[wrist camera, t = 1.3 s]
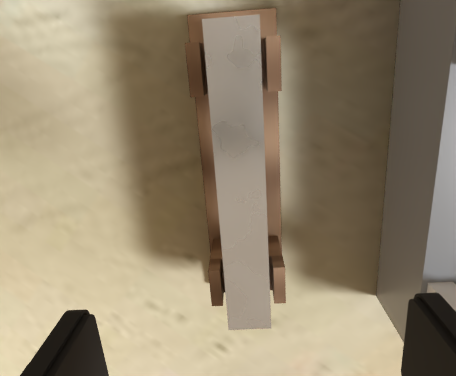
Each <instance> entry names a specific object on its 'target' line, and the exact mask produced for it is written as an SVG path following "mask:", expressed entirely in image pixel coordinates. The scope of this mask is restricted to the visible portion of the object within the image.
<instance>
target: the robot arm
mask: <svg viewBox="0 0 456 376" xmlns="http://www.w3.org/2000/svg"><path fill="white" fill-rule="evenodd" d="M401 374H402V376H456V311H455V310H454V309H453V308H452V307H451V306H450V305H449V303H448V302H447V301H446V300H445V299H444V298H443V297H442V296H441V295H440V294H439V293H436V292H435V293H417V294H415V296H414V299H410V300H409V302H408V310H407V320H406V329H405V338H404V348H403V357H402V367H401ZM20 376H109V375H108V370H107V366H106V362H105V358H104V353H103V349H102V345H101V341H100V336H99V332H98V328H97V324H96V319H95V316H94V315H93V314H89V312H88V310H68V311H66V312H65V313H64V314H63V316H62V317H61V319H60V320H59V322H58V323H57V324H56V326H55V327H54V329H53V330H52V332H51V333H50V335H49V336H48V337H47V339H46V340H45V342H44V343H43V345H42V346H41V347H40V349H39V350H38V352H37V353H36V355H35V356H34V357H33V359H32V360H31V362H30V363H29V364H28V365H27V366H26V368H25V369H24V371H23V372H22V374H21V375H20Z"/></svg>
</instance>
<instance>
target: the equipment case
mask: <svg viewBox="0 0 456 376" xmlns="http://www.w3.org/2000/svg"><path fill="white" fill-rule="evenodd" d="M435 292H436V293H439V294H440V295H441V296H442V297H443V298H444V299H445V300H446V301H447V302H448V303H449V305H450V306H451V307H452V308H453V309H454V310H455V311H456V0H400V12H399V24H398V36H397V49H396V61H395V73H394V85H393V97H392V110H391V122H390V134H389V146H388V158H387V170H386V183H385V195H384V207H383V219H382V231H381V244H380V256H379V268H378V280H377V292H376V296H377V298H378V300H379V302H380V303H381V305H382V307H383V308H384V310H385V312H386V313H387V315H388V317H389V318H390V320H391V322H392V323H393V325H394V327H395V328H396V330H397V332H398V334H399V335H400V337H401V339H402V340H403V342H404V338H405V329H406V320H407V310H408V302H409V300H410V299H414V296H415V294H417V293H435Z"/></svg>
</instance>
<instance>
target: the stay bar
mask: <svg viewBox="0 0 456 376" xmlns="http://www.w3.org/2000/svg"><path fill="white" fill-rule="evenodd" d="M202 26H203V38H204V49H205V61H206V73H207V84H208V96H209V107H210V119H211V130H212V142H213V154H214V165H215V177H216V188H217V200H218V212H219V223H220V235H221V246H222V258H223V269H224V281H225V293H226V304H227V316H228V327H229V330H239V329H265V328H271V307H270V280H269V253H268V226H267V199H266V172H265V144H264V117H263V90H262V63H261V36H260V14H258V15H246V16H234V17H221V18H209V19H202Z"/></svg>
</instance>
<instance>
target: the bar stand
mask: <svg viewBox="0 0 456 376" xmlns="http://www.w3.org/2000/svg"><path fill="white" fill-rule="evenodd" d="M258 14H260V36H261V63H262V90H263V117H264V144H265V172H266V199H267V226H268V253H269V280H270V290H273V296H274V303H286V296H285V265H284V261H283V257H282V245H281V201H280V157H279V113H278V91H281V40H280V36H277V25H276V8H269V9H257V10H245V11H233V12H221V13H208V14H196V15H187V18H188V28H189V39H190V43H185V49H186V58H187V68H188V78H189V88H190V97H195V99H196V110H197V120H198V130H199V140H200V150H201V160H202V170H203V181H204V191H205V201H206V211H207V221H208V231H209V242H210V252H211V256H210V263H209V270H208V272H209V282H210V292H211V301H212V306H223V294H224V292H225V281H224V269H223V258H222V246H221V235H220V223H219V212H218V200H217V188H216V177H215V165H214V154H213V142H212V130H211V119H210V107H209V96H208V84H207V73H206V61H205V49H204V38H203V26H202V19H209V18H221V17H234V16H246V15H258Z"/></svg>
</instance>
